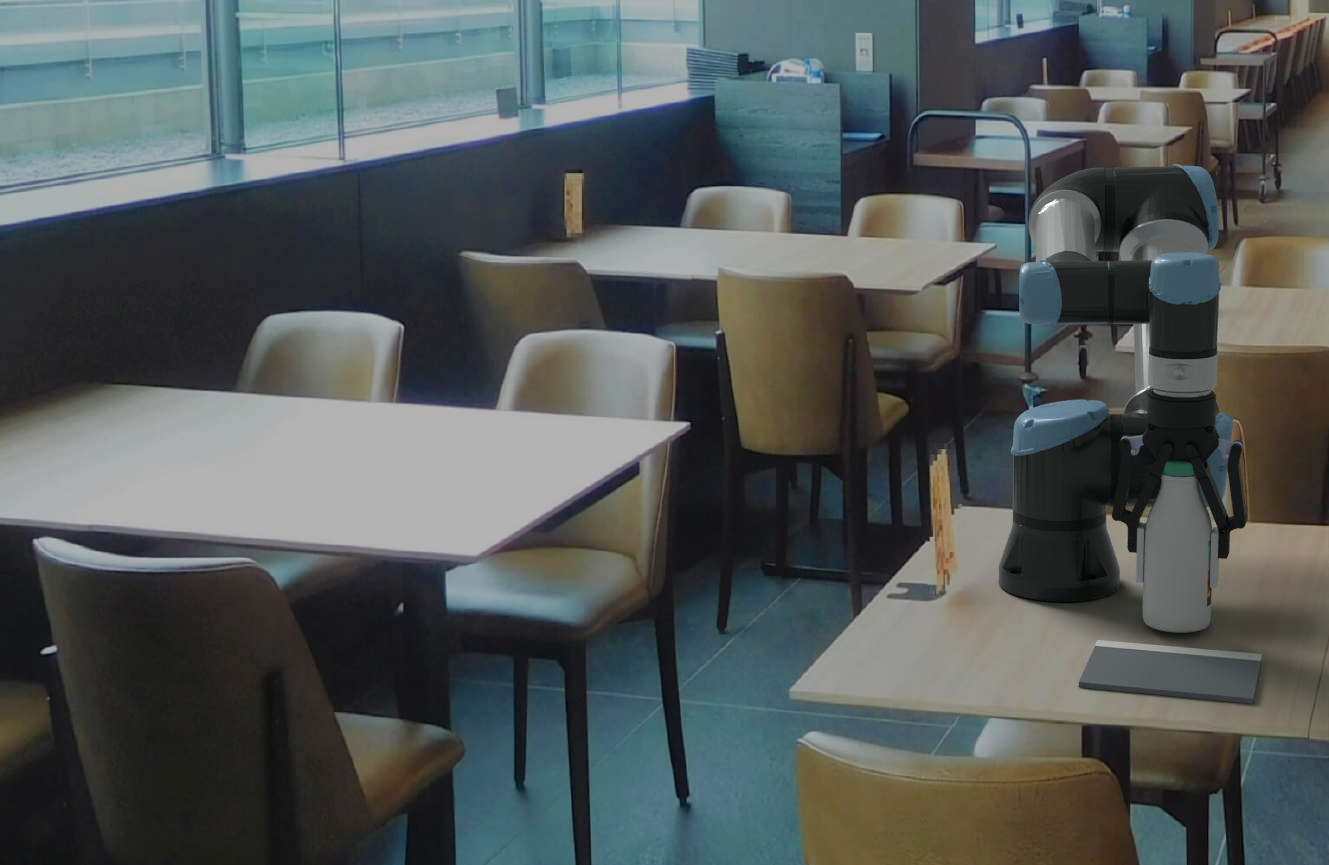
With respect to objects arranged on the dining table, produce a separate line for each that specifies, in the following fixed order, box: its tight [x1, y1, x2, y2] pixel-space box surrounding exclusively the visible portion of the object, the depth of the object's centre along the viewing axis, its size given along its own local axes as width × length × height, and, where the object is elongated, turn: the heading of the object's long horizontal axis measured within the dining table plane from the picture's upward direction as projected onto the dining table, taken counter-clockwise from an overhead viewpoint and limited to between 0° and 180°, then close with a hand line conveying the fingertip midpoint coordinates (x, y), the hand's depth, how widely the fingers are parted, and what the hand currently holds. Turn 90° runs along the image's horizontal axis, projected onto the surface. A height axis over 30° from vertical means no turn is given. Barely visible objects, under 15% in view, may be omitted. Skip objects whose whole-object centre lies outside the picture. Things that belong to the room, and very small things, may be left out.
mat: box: [1078, 639, 1263, 705], centre depth 196 cm, size 18×14×1 cm
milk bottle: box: [1142, 460, 1213, 634], centre depth 207 cm, size 8×8×20 cm
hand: (1177, 581), depth 208 cm, fingers closed on milk bottle, 7 cm apart
